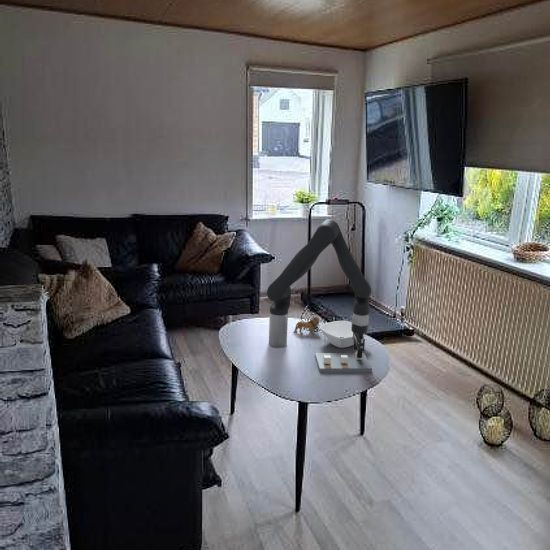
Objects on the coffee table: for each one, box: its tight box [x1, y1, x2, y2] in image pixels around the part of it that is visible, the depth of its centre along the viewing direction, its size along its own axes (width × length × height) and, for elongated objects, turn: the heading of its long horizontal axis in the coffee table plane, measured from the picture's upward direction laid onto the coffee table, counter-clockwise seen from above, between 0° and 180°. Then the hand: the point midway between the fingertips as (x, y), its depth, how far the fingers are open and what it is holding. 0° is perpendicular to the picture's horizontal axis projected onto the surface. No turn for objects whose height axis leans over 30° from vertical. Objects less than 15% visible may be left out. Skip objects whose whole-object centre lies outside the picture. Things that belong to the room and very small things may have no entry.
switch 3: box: [355, 350, 364, 360], centre depth 234 cm, size 2×3×3 cm
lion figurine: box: [292, 315, 320, 335], centre depth 267 cm, size 15×5×9 cm, turn 107°
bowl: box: [319, 320, 365, 349], centre depth 254 cm, size 21×21×9 cm
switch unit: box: [314, 352, 373, 373], centre depth 233 cm, size 16×24×2 cm, turn 94°
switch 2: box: [340, 355, 348, 363], centre depth 230 cm, size 2×3×3 cm
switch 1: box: [323, 355, 331, 364], centre depth 229 cm, size 2×3×3 cm
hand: (357, 353), depth 237 cm, fingers open, 8 cm apart
